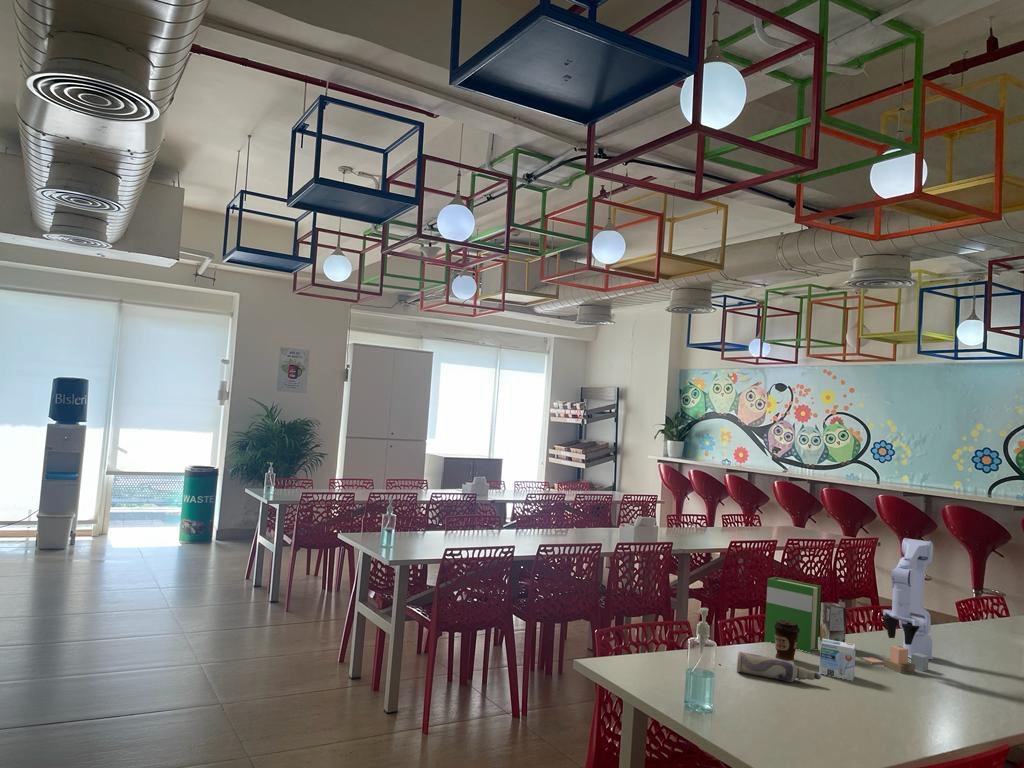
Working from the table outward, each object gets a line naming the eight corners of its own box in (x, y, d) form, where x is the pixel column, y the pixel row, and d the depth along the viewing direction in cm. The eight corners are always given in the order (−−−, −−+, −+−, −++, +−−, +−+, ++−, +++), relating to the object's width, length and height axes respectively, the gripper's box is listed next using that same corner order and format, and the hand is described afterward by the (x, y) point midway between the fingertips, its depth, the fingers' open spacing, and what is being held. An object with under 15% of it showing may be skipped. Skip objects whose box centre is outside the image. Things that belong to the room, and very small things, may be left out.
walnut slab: (897, 666, 262) (897, 658, 263) (914, 673, 256) (915, 664, 256) (883, 667, 260) (883, 659, 260) (900, 674, 253) (900, 665, 254)
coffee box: (845, 651, 277) (847, 608, 278) (828, 649, 277) (830, 606, 278) (835, 644, 286) (837, 602, 287) (818, 642, 286) (820, 601, 287)
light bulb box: (818, 674, 245) (820, 642, 246) (820, 669, 251) (821, 637, 252) (853, 681, 240) (855, 648, 241) (854, 676, 246) (856, 644, 247)
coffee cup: (785, 663, 254) (787, 626, 255) (767, 656, 262) (769, 619, 262) (802, 661, 258) (804, 624, 259) (784, 654, 266) (786, 618, 266)
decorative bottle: (735, 675, 238) (736, 654, 239) (737, 668, 245) (738, 648, 246) (820, 690, 229) (821, 669, 229) (820, 683, 236) (821, 662, 236)
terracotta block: (899, 660, 260) (899, 646, 261) (907, 663, 256) (908, 649, 257) (889, 660, 259) (890, 646, 260) (898, 664, 255) (898, 649, 256)
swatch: (873, 657, 270) (873, 656, 270) (888, 664, 263) (888, 662, 263) (858, 658, 268) (858, 656, 268) (871, 664, 262) (872, 662, 262)
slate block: (916, 666, 263) (917, 652, 263) (927, 670, 260) (928, 656, 260) (910, 668, 261) (911, 654, 261) (922, 671, 257) (922, 657, 258)
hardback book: (817, 650, 275) (820, 586, 277) (809, 653, 270) (812, 587, 272) (772, 638, 288) (775, 577, 289) (764, 641, 282) (767, 578, 284)
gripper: (876, 597, 265) (875, 635, 265) (908, 607, 251) (906, 647, 251) (892, 597, 267) (891, 635, 266) (924, 607, 253) (923, 647, 252)
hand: (899, 641), depth 259 cm, fingers open, 7 cm apart
